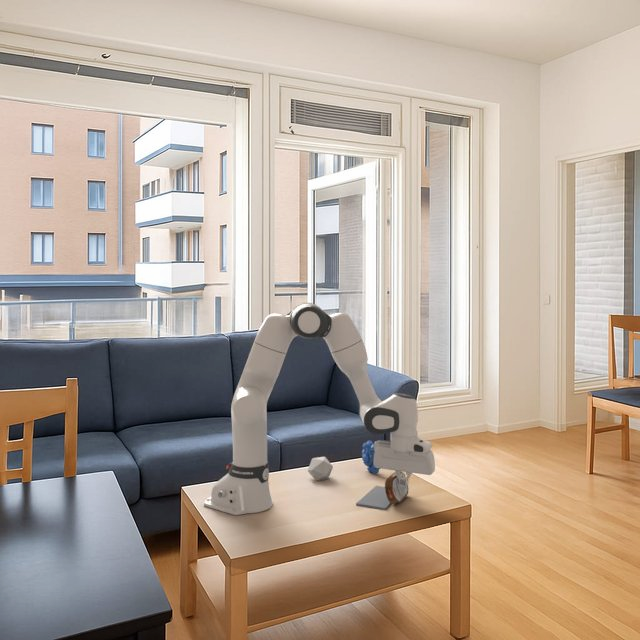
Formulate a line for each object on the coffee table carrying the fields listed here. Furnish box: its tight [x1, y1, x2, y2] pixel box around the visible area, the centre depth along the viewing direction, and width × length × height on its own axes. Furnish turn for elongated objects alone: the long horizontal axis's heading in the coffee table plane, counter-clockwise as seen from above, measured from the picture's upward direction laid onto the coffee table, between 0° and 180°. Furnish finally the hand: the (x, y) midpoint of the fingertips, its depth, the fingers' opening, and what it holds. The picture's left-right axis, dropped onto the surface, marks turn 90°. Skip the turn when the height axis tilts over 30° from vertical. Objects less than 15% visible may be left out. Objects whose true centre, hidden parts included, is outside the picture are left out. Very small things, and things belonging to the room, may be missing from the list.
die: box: [307, 456, 334, 482], centre depth 229 cm, size 8×9×10 cm
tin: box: [384, 471, 409, 505], centre depth 206 cm, size 15×3×8 cm, turn 155°
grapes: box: [361, 440, 381, 475], centre depth 235 cm, size 12×7×12 cm, turn 29°
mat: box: [355, 485, 392, 511], centre depth 208 cm, size 10×19×1 cm, turn 155°
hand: (403, 484), depth 204 cm, fingers closed
